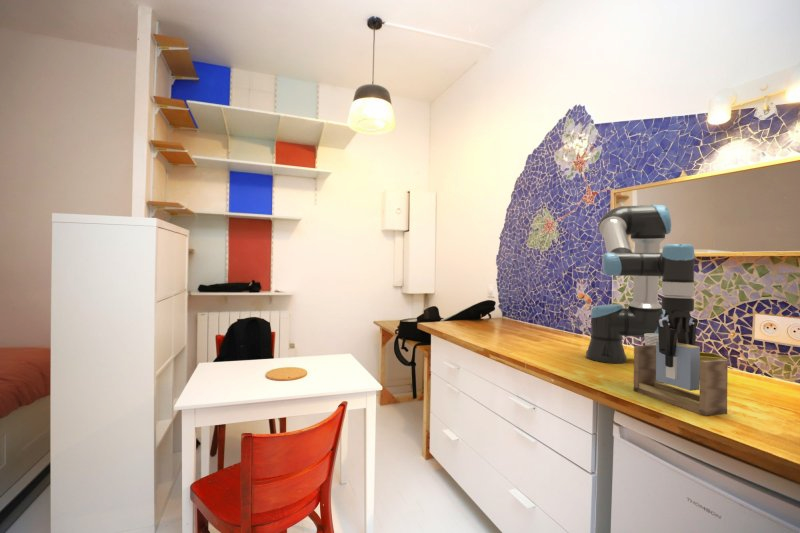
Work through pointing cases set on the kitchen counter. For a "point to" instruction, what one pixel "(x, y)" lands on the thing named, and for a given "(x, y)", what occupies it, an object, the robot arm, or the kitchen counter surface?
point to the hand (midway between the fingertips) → (676, 377)
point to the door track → (704, 404)
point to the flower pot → (710, 356)
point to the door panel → (681, 367)
